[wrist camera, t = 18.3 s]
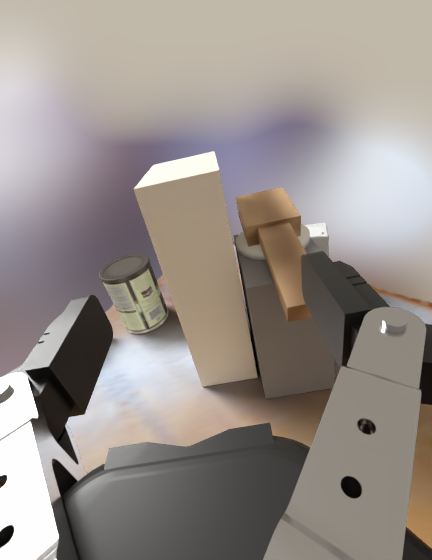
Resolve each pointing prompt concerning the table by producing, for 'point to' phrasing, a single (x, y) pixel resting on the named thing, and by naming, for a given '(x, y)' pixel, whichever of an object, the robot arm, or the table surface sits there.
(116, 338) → the table surface
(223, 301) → the tall plinth
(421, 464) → the table surface
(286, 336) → the gray box
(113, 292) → the coffee can
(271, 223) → the oak block
